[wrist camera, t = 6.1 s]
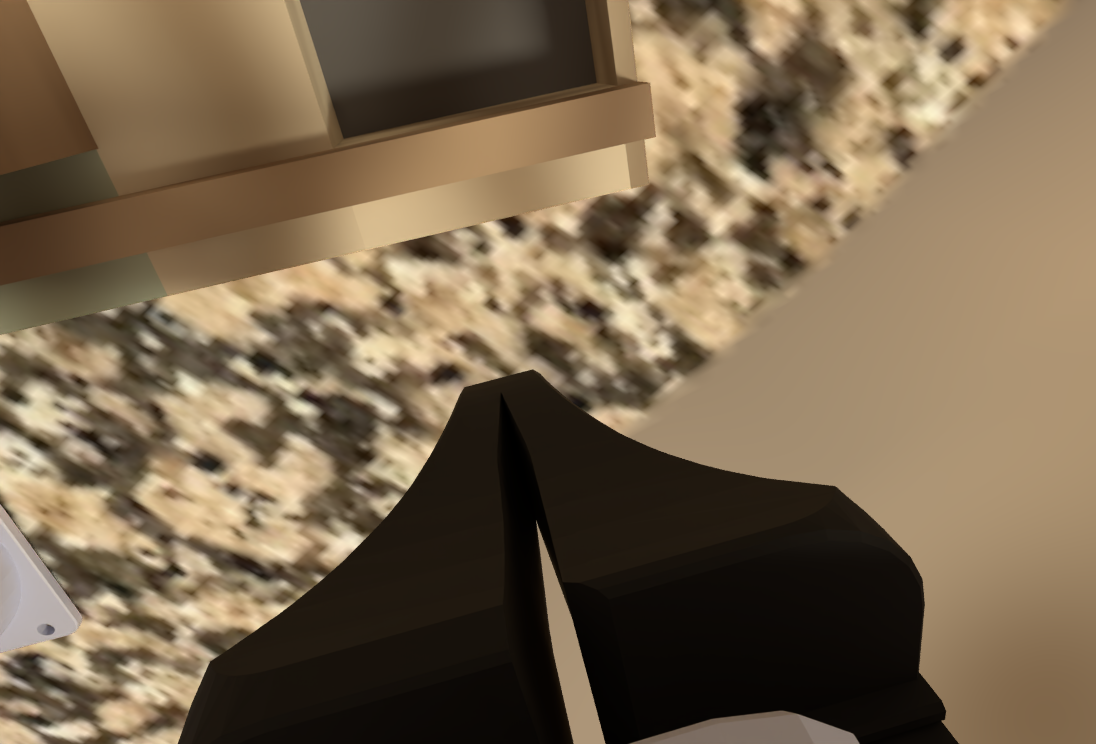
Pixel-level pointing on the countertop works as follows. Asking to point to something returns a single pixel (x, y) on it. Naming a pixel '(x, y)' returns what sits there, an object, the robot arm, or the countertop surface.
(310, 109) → the wooden tray
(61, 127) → the walnut block
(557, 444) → the robot arm
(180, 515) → the countertop surface
